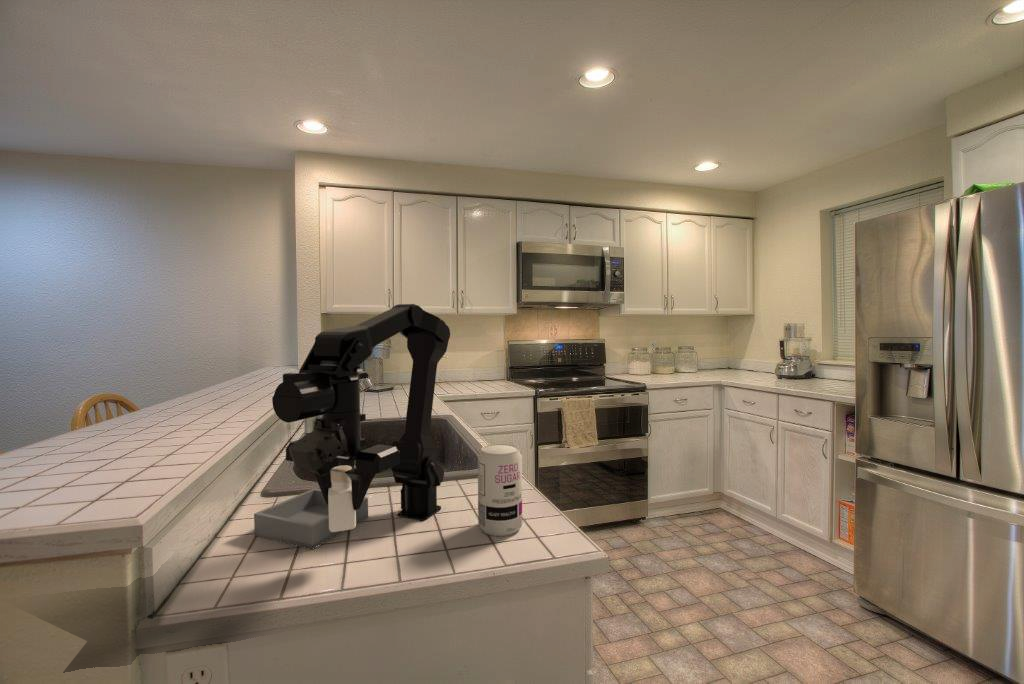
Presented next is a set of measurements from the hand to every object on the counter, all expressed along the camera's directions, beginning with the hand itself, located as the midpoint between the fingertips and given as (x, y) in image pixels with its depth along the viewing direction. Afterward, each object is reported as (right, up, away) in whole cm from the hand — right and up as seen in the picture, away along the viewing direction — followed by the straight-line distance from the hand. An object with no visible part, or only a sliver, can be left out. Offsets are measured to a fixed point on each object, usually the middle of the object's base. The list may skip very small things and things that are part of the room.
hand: (343, 506), depth 74 cm
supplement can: (+25, -9, +13) cm, 29 cm away
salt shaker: (0, -3, 0) cm, 3 cm away
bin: (-11, -9, +14) cm, 19 cm away
